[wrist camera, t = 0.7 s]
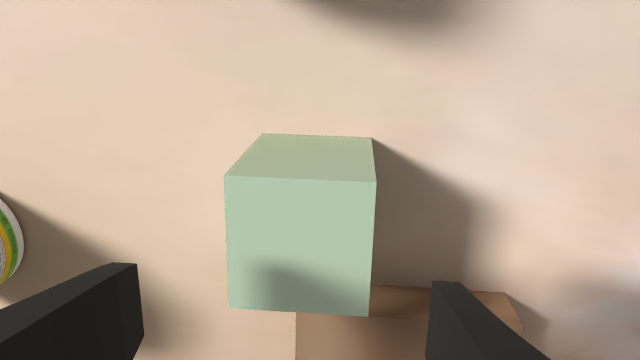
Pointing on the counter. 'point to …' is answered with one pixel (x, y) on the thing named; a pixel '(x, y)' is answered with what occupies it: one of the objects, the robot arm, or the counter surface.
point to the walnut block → (384, 326)
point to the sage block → (301, 224)
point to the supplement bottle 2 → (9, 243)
